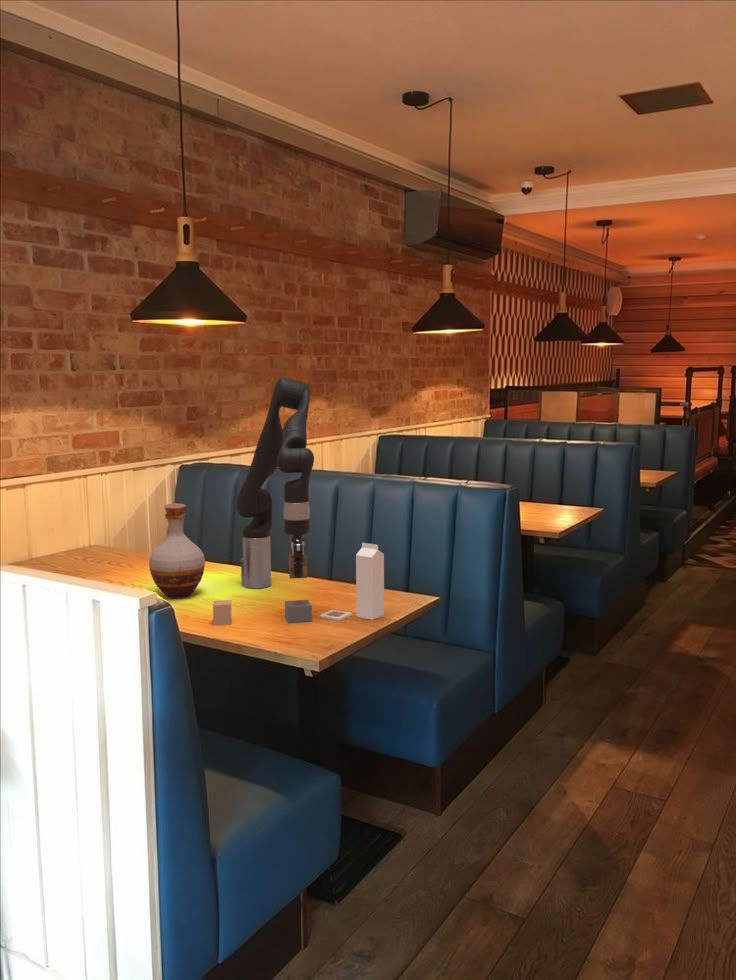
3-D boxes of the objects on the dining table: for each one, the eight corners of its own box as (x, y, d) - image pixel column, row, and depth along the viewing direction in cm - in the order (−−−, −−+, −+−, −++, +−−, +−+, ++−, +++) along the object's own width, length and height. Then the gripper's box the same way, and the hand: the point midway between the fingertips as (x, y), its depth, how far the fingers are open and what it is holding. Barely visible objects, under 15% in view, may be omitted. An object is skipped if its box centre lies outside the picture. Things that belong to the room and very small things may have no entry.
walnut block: (289, 578, 241) (289, 558, 240) (289, 574, 246) (288, 554, 245) (307, 577, 241) (306, 557, 240) (306, 573, 246) (305, 554, 245)
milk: (368, 612, 252) (368, 540, 249) (384, 615, 248) (384, 543, 246) (356, 616, 247) (355, 544, 244) (372, 620, 244) (371, 546, 241)
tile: (319, 617, 247) (319, 614, 247) (332, 611, 253) (332, 609, 253) (339, 620, 243) (339, 618, 243) (351, 614, 249) (351, 612, 249)
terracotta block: (213, 625, 240) (212, 605, 239) (214, 620, 245) (214, 600, 244) (231, 624, 240) (230, 604, 240) (231, 619, 245) (231, 600, 245)
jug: (143, 591, 279) (139, 502, 274) (196, 584, 287) (193, 498, 283) (157, 605, 261) (153, 510, 257) (212, 597, 269) (209, 506, 265)
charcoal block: (288, 624, 241) (287, 607, 240) (285, 617, 248) (284, 601, 247) (312, 622, 243) (311, 605, 242) (308, 615, 249) (308, 599, 249)
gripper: (311, 520, 235) (312, 579, 237) (308, 512, 249) (309, 568, 251) (284, 521, 234) (285, 580, 236) (283, 513, 248) (284, 569, 250)
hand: (298, 573), depth 243 cm, fingers closed on walnut block, 5 cm apart
